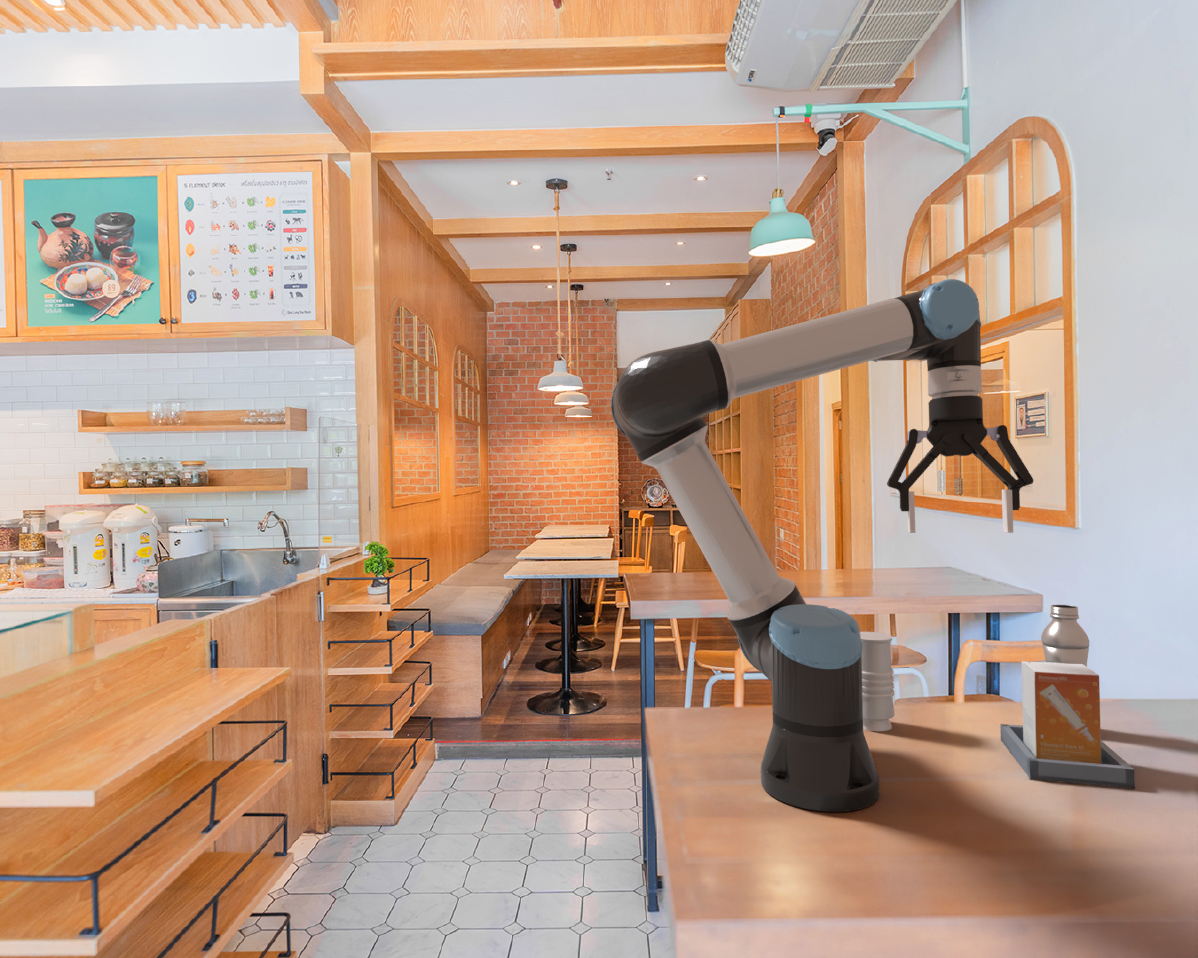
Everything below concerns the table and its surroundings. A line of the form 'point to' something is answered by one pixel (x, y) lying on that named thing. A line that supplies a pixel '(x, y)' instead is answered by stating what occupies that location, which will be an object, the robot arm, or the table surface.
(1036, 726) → the small box
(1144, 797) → the table surface
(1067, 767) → the tray
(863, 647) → the white bottle
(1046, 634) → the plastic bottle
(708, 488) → the robot arm
